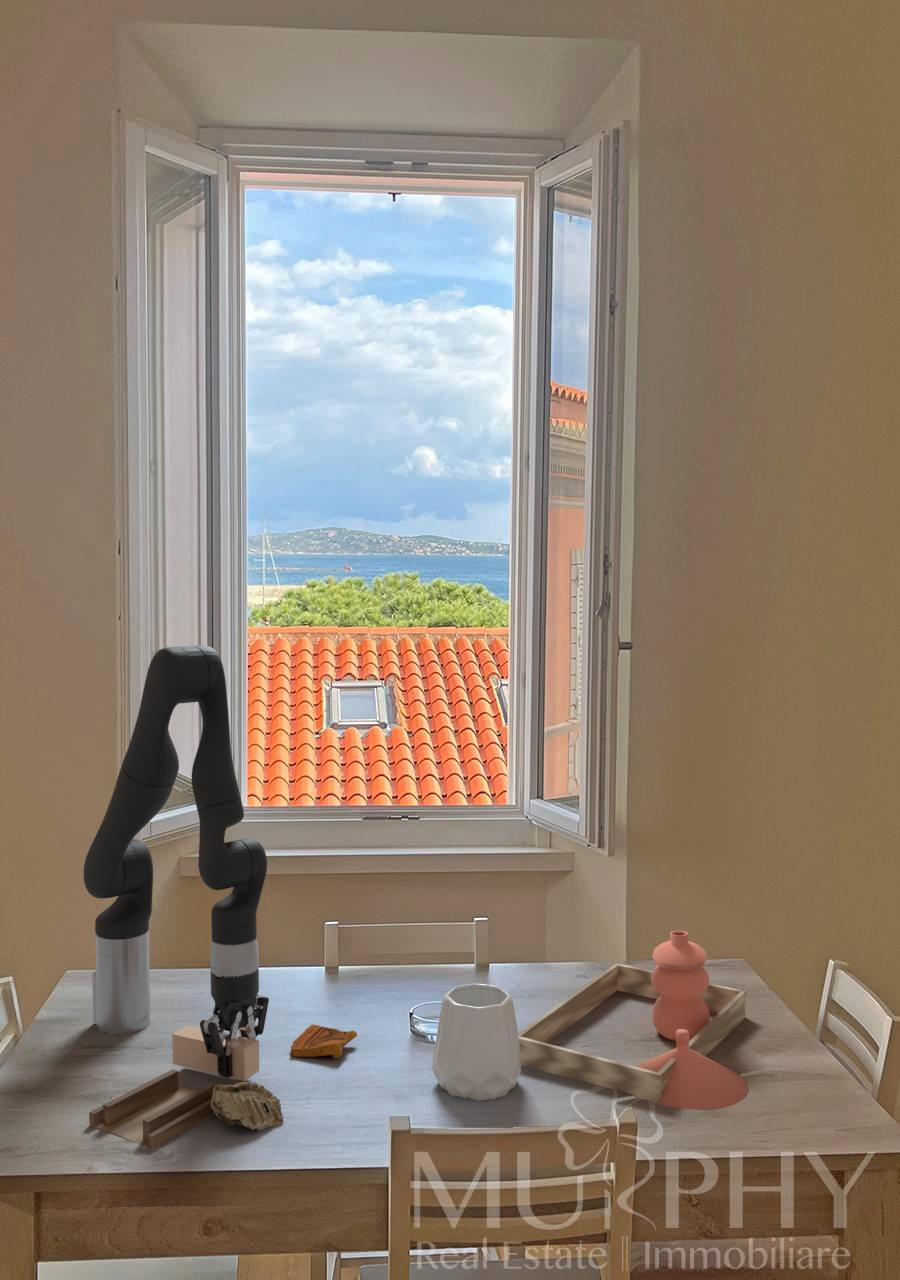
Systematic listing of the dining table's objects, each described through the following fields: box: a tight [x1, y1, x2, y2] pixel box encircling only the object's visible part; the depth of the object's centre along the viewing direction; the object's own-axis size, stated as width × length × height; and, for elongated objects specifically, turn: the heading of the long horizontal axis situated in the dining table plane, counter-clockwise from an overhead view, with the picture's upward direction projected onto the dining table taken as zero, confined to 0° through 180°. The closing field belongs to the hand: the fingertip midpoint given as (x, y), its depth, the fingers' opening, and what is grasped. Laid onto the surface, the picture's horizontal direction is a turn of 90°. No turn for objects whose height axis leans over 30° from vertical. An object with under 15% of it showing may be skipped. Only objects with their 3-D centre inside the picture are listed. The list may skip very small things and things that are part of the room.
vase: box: [431, 983, 522, 1101], centre depth 190 cm, size 14×14×15 cm
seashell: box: [211, 1081, 284, 1132], centre depth 177 cm, size 11×7×10 cm
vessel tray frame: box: [518, 963, 747, 1104], centre depth 208 cm, size 26×41×5 cm, turn 148°
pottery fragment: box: [290, 1024, 358, 1059], centre depth 204 cm, size 10×5×10 cm
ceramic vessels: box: [635, 930, 750, 1111], centre depth 198 cm, size 35×21×19 cm, turn 170°
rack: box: [88, 1068, 218, 1149], centre depth 179 cm, size 13×16×4 cm
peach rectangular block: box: [171, 1024, 260, 1082], centre depth 192 cm, size 14×4×5 cm, turn 65°
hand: (236, 1069), depth 191 cm, fingers closed on peach rectangular block, 4 cm apart
